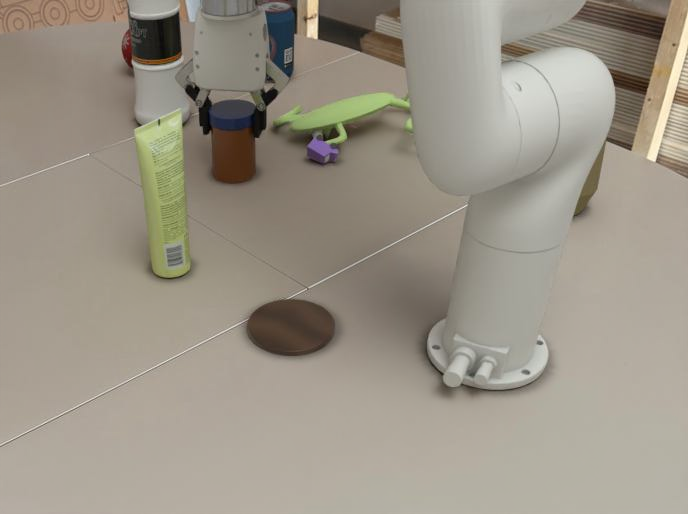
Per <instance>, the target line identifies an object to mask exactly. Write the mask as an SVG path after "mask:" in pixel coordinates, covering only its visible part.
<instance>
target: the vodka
mask: <svg viewBox="0 0 688 514" xmlns="http://www.w3.org/2000/svg"><path fill="white" fill-rule="evenodd" d="M125 2H126V10H127V20H128V29H130V39H131V48H132V57H133V59H132V65H133V69H132V70H133V75H134V94H135V96H134V97H135V98H134V101H135V102H134V107H133V108H134V109H133V110H134V118H135V119H136V122H137V124H139V125H140V126H143V125H145V124H148V123H150V122H152V121H154V120H156V119H159V118H161V117H163V116H165V115H167V114H169V113H171V112H173V111H175V110H177V109H179V108H181V113H182V125H183V124H184V123H186V122H187V121H188V120H189V118H190V115H191V104H190V102H189V98H188V95H187V94H186V92H185V89H184V88H182V87H181V86H180V84H179V83H178V82H177V81H176V80H175V76H176V74H177V73H178V72H179V71H180V70H181V69H182V68H183V67H184V61H185V57H184V55H183V47H182V45H183V44H182V33H181V18H180V17H181V16H180V10H181V3H180V0H125Z"/></svg>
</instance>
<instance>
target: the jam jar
mask: <svg viewBox="0 0 688 514" xmlns="http://www.w3.org/2000/svg"><path fill="white" fill-rule="evenodd" d="M210 142H211V143H210V144H211V161H212V176H213V178H214V179H215V180H217V181H219V182H222V183H225V184H240V183H244V182H248V181H250V180H252V179H253V178H254V177H255V176H256V173H257V170H256V169H257V165H256V163H257V161H256V160H257V159H256V155H257V154H256V138H255V137H254V124H253V125H252V126H250V127H247V128H244V129H239V130H222V129H218V128H215V127H213V126H212V125H211V131H210Z"/></svg>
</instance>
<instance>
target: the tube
mask: <svg viewBox="0 0 688 514" xmlns="http://www.w3.org/2000/svg"><path fill="white" fill-rule="evenodd" d="M183 132H184V131H183V124H182V113H181V108H179V109H177V110H175V111H173V112H171V113H169V114H167V115H165V116H163V117H161V118H159V119H156V120H154V121H152V122H150V123H148V124H145V125H143V126H142V125H140V126H139V127H136V128H134V129H133V137H134V143H135V149H136V155H137V161H138V168H139V176H140V181H141V182H140V183H141V189H142V196H143V204H144V212H145V213H144V214H145V219H146V227H147V236H148V244H149V253H150V262H151V269H152V271H153V273H154V274H155V275H156V276H158V277H161V278H167V279H170V278H178V277H181V276H183V275H185V274H186V273H188V272H189V271H190V269H191V266H192V265H191V263H192V262H191V251H190V250H191V249H190V239H189V237H190V236H189V222H188V208H187V207H188V206H187V193H186V192H187V190H186V175H185V174H186V173H185V157H184V155H185V154H184V134H183Z"/></svg>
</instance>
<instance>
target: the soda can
mask: <svg viewBox="0 0 688 514" xmlns="http://www.w3.org/2000/svg"><path fill="white" fill-rule="evenodd" d="M258 6H262V7H263V8H264V10H265V15H266V21H267V28H268V37H269V50H270V60H271V61H272V62H273V63H274V64H275V65H276V66H277V67H278V68H279V69H280V70H281V71H283V72H284V73H285V74H286V75H287V76H288V77H289V78H290V77H291V75H292V74H293V72H294V70H295V30H296V29H295V27H296V26H295V25H296V23H295V21H296V15H295V13H294V10H293V8H292V7H293V6H292V3H291V2H290V1H286V0H269V1H268V2H263V3H260V4H259V5H258ZM265 83H275V81H274V80H273V79H272V78H271V77H270V76H269V79H266V80H265Z"/></svg>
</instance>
